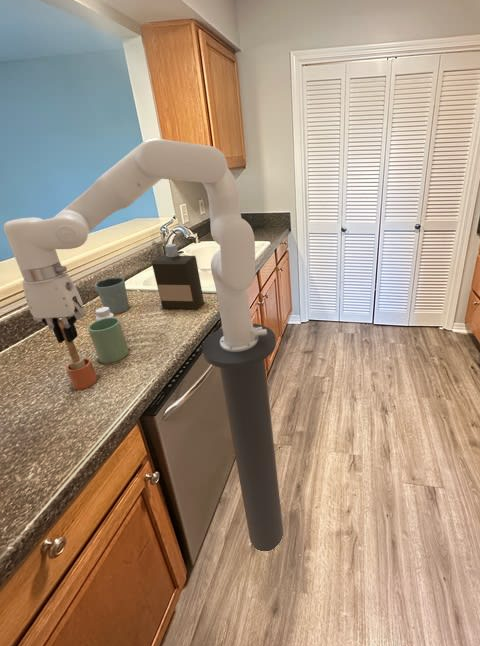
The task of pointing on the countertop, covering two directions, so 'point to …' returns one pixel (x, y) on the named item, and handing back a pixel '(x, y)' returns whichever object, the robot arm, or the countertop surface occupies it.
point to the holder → (82, 375)
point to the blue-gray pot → (113, 294)
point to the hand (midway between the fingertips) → (68, 339)
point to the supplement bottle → (103, 313)
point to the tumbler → (108, 339)
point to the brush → (72, 351)
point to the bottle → (178, 280)
